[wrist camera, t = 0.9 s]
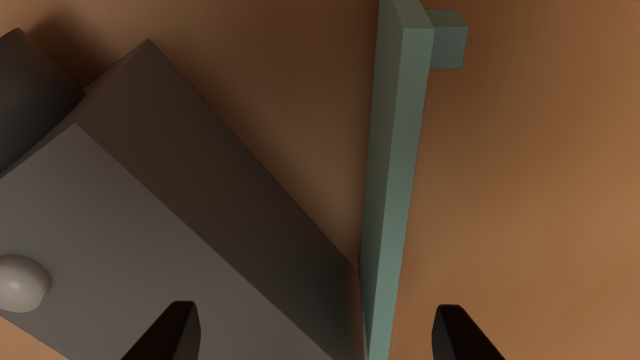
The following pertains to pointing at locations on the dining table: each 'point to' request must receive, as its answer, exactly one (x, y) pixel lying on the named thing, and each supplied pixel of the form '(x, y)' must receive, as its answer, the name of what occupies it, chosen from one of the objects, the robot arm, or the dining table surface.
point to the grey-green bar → (397, 149)
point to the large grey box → (153, 221)
